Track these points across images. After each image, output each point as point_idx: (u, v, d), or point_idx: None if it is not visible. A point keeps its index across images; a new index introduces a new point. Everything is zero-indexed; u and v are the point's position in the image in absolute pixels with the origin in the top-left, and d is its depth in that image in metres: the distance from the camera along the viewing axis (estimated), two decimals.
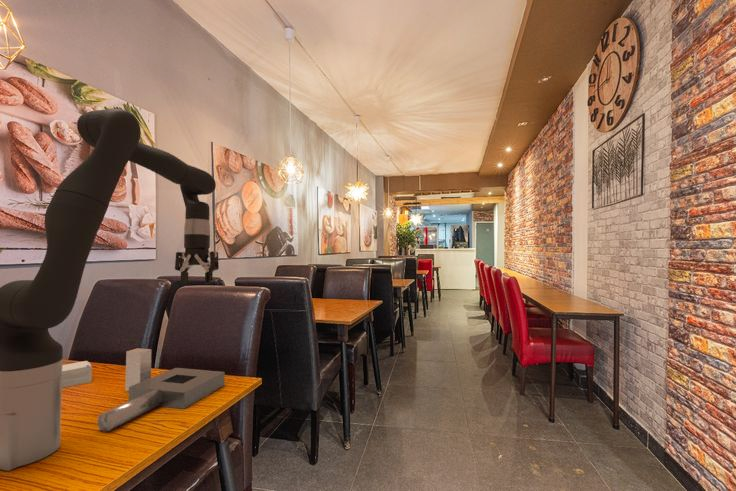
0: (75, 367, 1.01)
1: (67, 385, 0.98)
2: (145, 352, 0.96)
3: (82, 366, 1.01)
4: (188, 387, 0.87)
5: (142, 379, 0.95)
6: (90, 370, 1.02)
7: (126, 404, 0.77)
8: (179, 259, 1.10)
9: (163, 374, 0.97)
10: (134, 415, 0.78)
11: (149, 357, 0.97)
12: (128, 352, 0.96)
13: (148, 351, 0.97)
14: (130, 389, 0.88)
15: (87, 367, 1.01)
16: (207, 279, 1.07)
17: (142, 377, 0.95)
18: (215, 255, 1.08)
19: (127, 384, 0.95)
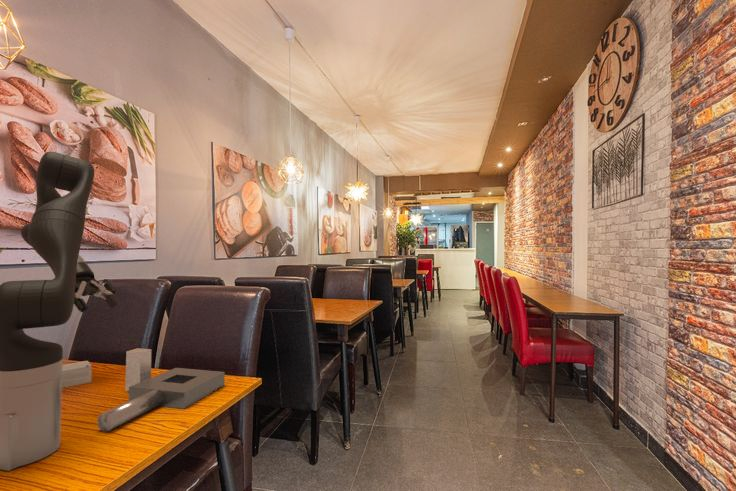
0: (75, 367, 1.01)
1: (67, 385, 0.98)
2: (145, 352, 0.96)
3: (82, 366, 1.01)
4: (188, 387, 0.87)
5: (142, 379, 0.95)
6: (90, 370, 1.02)
7: (126, 404, 0.77)
8: None
9: (163, 374, 0.97)
10: (134, 415, 0.78)
11: (149, 357, 0.97)
12: (128, 352, 0.96)
13: (148, 351, 0.97)
14: (130, 389, 0.88)
15: (87, 367, 1.01)
16: (114, 300, 1.05)
17: (142, 377, 0.95)
18: None
19: (127, 384, 0.95)
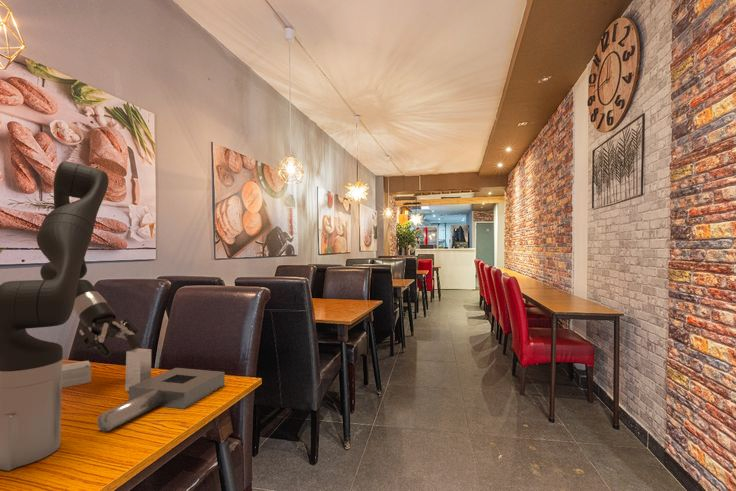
0: (74, 367, 1.01)
1: (66, 385, 0.98)
2: (145, 352, 0.96)
3: (81, 366, 1.01)
4: (188, 387, 0.87)
5: (141, 379, 0.95)
6: (89, 370, 1.02)
7: (126, 404, 0.77)
8: None
9: (163, 374, 0.97)
10: (134, 415, 0.78)
11: (149, 357, 0.97)
12: (128, 352, 0.96)
13: (148, 351, 0.97)
14: (130, 389, 0.88)
15: (86, 367, 1.01)
16: (136, 341, 1.03)
17: (142, 377, 0.95)
18: None
19: (127, 384, 0.95)
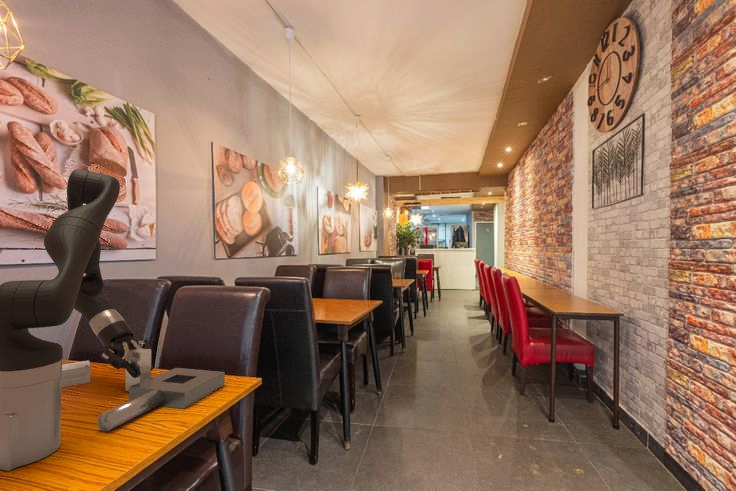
0: (74, 367, 1.01)
1: (65, 385, 0.98)
2: (145, 352, 0.96)
3: (81, 366, 1.01)
4: (188, 387, 0.87)
5: (141, 379, 0.95)
6: (89, 370, 1.02)
7: (126, 404, 0.77)
8: None
9: (163, 374, 0.97)
10: (134, 415, 0.78)
11: (149, 357, 0.97)
12: (128, 352, 0.96)
13: (148, 351, 0.97)
14: (130, 389, 0.88)
15: (85, 367, 1.01)
16: None
17: (142, 377, 0.95)
18: None
19: (127, 384, 0.95)
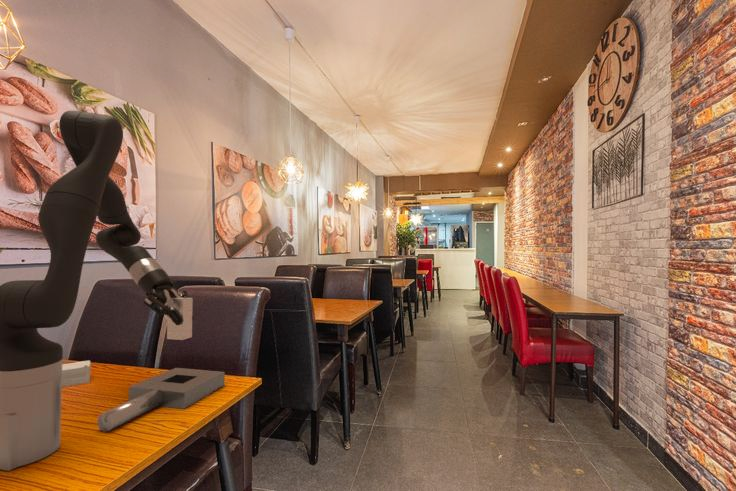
0: (74, 367, 1.01)
1: (64, 385, 0.98)
2: (187, 300, 0.93)
3: (80, 366, 1.01)
4: (188, 387, 0.87)
5: (184, 327, 0.92)
6: (88, 370, 1.02)
7: (126, 404, 0.77)
8: None
9: (163, 374, 0.97)
10: (134, 415, 0.78)
11: (190, 305, 0.95)
12: (170, 299, 0.93)
13: (190, 299, 0.94)
14: (130, 389, 0.88)
15: (85, 367, 1.01)
16: None
17: (184, 325, 0.92)
18: None
19: (169, 332, 0.92)
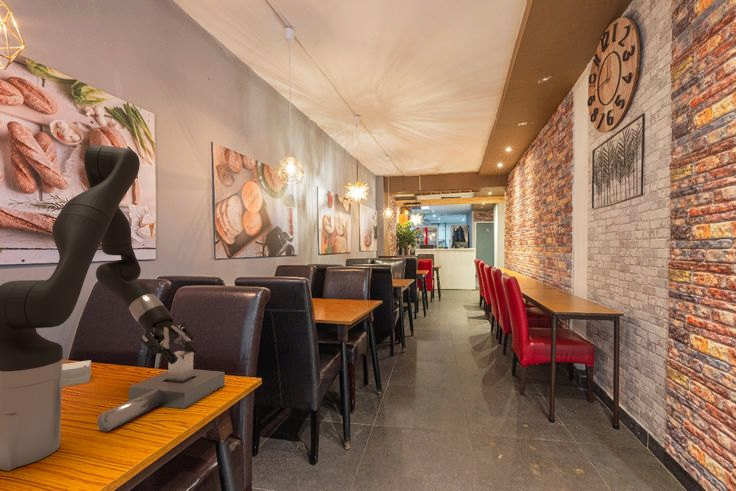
0: (73, 367, 1.01)
1: (64, 385, 0.98)
2: (188, 355, 0.93)
3: (80, 366, 1.01)
4: (188, 387, 0.87)
5: None
6: (87, 371, 1.02)
7: (126, 404, 0.77)
8: None
9: (163, 374, 0.97)
10: (134, 415, 0.78)
11: (191, 360, 0.94)
12: None
13: (191, 354, 0.94)
14: (130, 389, 0.88)
15: (84, 367, 1.01)
16: (194, 348, 0.97)
17: (185, 381, 0.92)
18: None
19: None
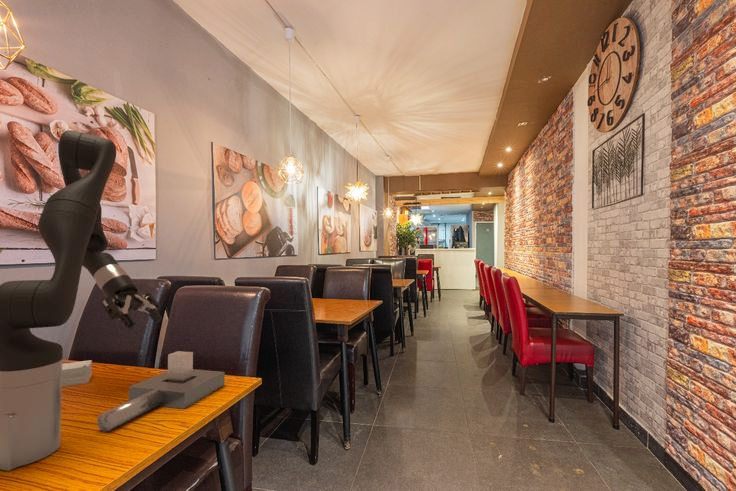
0: (73, 367, 1.01)
1: (63, 384, 0.99)
2: (187, 355, 0.93)
3: (80, 366, 1.01)
4: (188, 387, 0.87)
5: None
6: (86, 371, 1.02)
7: (126, 404, 0.77)
8: None
9: (163, 374, 0.97)
10: (134, 415, 0.78)
11: (191, 360, 0.94)
12: (170, 355, 0.92)
13: (190, 354, 0.94)
14: (130, 389, 0.88)
15: (83, 367, 1.01)
16: (158, 315, 1.01)
17: (185, 381, 0.92)
18: None
19: None
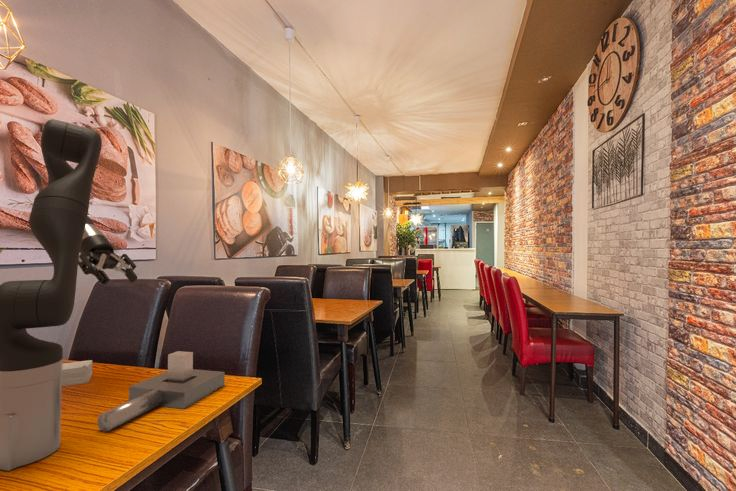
0: (73, 367, 1.01)
1: (63, 384, 0.99)
2: (187, 355, 0.93)
3: (79, 366, 1.01)
4: (188, 387, 0.87)
5: None
6: (86, 371, 1.01)
7: (126, 404, 0.77)
8: None
9: (163, 374, 0.97)
10: (134, 415, 0.78)
11: (191, 360, 0.94)
12: (170, 355, 0.92)
13: (190, 354, 0.94)
14: (130, 389, 0.88)
15: (83, 367, 1.01)
16: (134, 275, 1.02)
17: (185, 381, 0.92)
18: None
19: None
